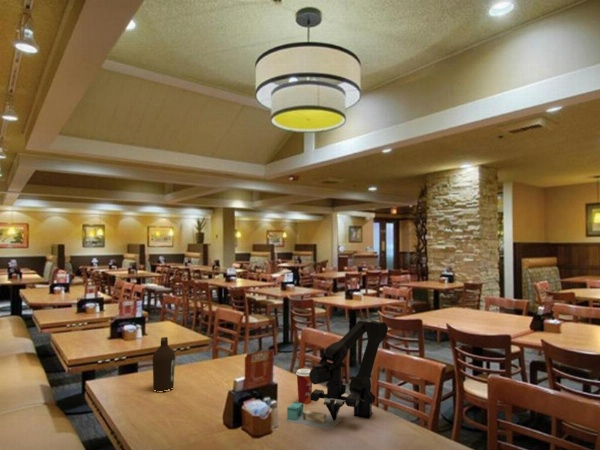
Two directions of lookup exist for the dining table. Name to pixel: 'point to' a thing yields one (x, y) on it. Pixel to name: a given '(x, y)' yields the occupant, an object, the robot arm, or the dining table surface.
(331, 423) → the mat
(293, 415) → the teal faceted block
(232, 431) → the dining table surface
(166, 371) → the olive oil
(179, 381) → the dining table surface
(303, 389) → the paper cup
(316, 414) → the long wooden beam
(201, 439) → the dining table surface
